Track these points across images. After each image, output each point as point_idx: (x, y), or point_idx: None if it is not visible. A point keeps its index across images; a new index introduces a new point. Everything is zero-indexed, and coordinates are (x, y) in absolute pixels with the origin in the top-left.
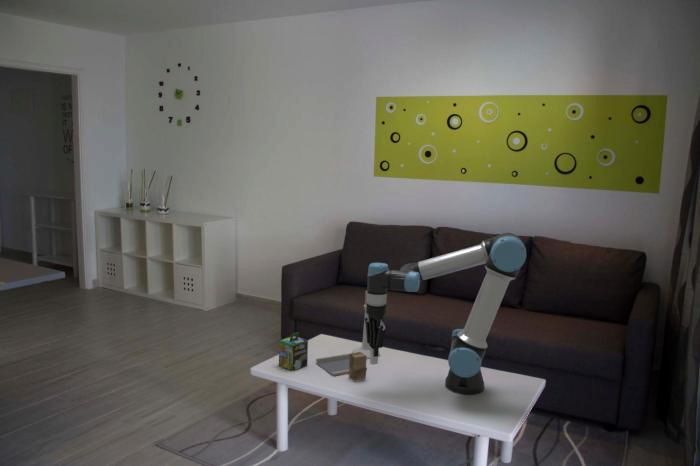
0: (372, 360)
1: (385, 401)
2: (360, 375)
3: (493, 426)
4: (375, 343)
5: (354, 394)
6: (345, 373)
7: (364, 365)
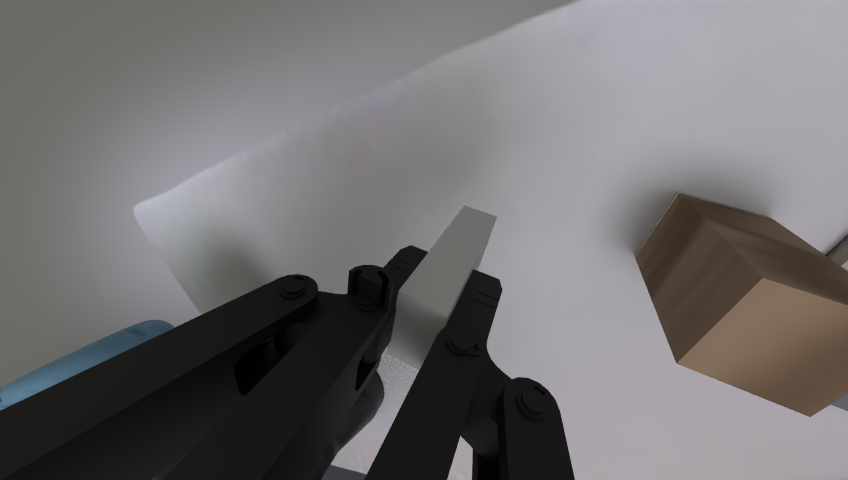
0: (451, 225)
1: (374, 114)
2: (663, 239)
3: (155, 217)
4: (307, 341)
5: (540, 34)
6: (843, 245)
7: (662, 297)
